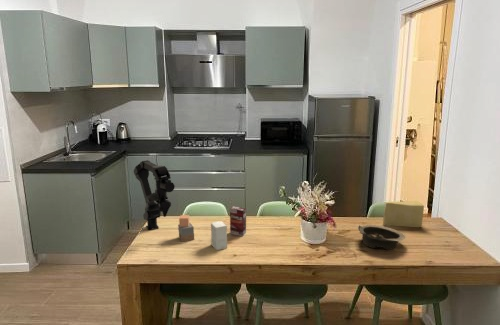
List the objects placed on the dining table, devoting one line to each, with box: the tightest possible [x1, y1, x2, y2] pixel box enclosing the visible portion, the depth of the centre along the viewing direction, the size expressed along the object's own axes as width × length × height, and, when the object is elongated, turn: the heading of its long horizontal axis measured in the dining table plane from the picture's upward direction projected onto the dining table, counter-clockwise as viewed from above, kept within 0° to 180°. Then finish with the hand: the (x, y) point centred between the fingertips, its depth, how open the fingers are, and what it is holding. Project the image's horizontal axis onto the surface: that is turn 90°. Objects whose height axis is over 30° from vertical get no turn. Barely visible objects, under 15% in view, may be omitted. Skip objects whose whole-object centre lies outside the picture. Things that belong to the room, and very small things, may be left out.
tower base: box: [178, 231, 195, 243], centre depth 218 cm, size 7×7×4 cm
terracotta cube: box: [178, 214, 190, 227], centre depth 217 cm, size 5×5×5 cm
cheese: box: [382, 200, 425, 228], centre depth 235 cm, size 22×10×15 cm, turn 88°
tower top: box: [177, 222, 195, 235], centre depth 217 cm, size 7×7×4 cm
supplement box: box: [229, 206, 247, 237], centre depth 223 cm, size 9×5×16 cm, turn 68°
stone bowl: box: [357, 224, 406, 251], centre depth 210 cm, size 25×25×9 cm
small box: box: [210, 220, 228, 251], centre depth 207 cm, size 8×6×13 cm
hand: (162, 214), depth 220 cm, fingers open, 9 cm apart
